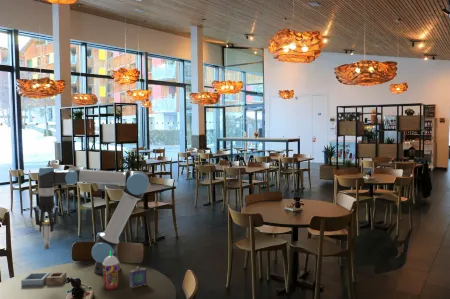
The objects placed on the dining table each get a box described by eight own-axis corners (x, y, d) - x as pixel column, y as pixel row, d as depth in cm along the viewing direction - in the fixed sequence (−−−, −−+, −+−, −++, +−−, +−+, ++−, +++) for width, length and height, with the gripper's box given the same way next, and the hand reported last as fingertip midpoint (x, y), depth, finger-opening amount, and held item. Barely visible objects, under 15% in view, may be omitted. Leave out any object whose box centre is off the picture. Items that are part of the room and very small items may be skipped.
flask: (130, 288, 203) (130, 268, 203) (128, 287, 206) (128, 267, 205) (147, 285, 208) (146, 265, 207) (145, 283, 210) (145, 264, 210)
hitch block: (66, 278, 217) (66, 271, 217) (61, 284, 210) (61, 277, 209) (52, 279, 217) (51, 272, 217) (46, 284, 209) (46, 277, 209)
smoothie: (114, 291, 200) (113, 253, 199) (99, 290, 201) (99, 252, 200) (121, 285, 208) (121, 248, 207) (107, 284, 210) (107, 248, 209)
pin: (52, 246, 214) (52, 220, 214) (49, 249, 210) (49, 222, 209) (43, 247, 214) (43, 220, 213) (40, 249, 209) (40, 222, 209)
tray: (50, 278, 218) (50, 272, 218) (42, 286, 207) (42, 279, 207) (30, 279, 217) (30, 273, 217) (21, 286, 207) (21, 280, 206)
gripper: (28, 196, 206) (28, 239, 207) (59, 196, 208) (59, 239, 209) (34, 194, 214) (34, 235, 215) (64, 194, 215) (64, 235, 216)
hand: (46, 237), depth 212 cm, fingers closed on pin, 3 cm apart
